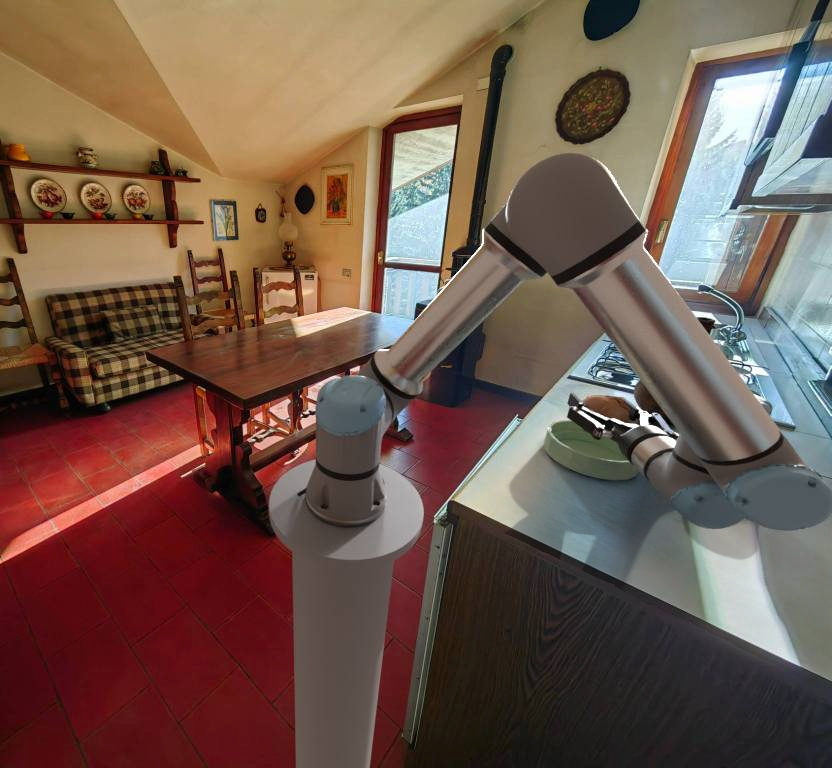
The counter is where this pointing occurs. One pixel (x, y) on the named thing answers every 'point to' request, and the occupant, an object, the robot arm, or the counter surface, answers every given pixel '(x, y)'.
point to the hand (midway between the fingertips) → (594, 400)
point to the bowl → (586, 452)
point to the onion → (608, 407)
